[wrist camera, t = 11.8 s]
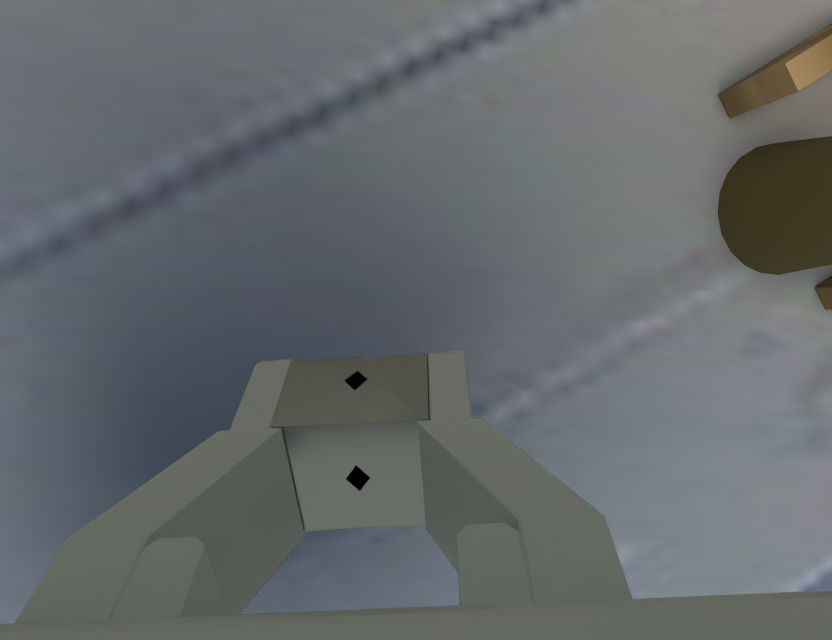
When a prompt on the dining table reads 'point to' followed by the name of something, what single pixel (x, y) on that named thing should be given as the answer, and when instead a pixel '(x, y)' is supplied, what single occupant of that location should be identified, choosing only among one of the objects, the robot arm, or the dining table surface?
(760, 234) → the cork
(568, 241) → the dining table surface
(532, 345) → the dining table surface
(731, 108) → the catch
